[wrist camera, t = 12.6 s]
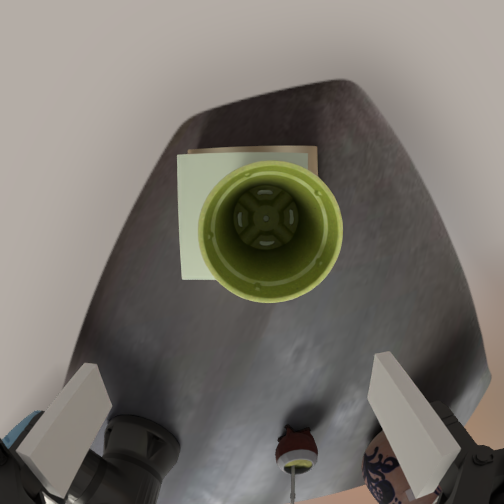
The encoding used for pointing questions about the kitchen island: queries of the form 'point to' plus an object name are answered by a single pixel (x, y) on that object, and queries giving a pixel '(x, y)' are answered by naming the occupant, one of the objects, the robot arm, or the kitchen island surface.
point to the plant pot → (270, 231)
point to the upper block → (198, 188)
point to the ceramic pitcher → (389, 475)
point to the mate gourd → (296, 454)
